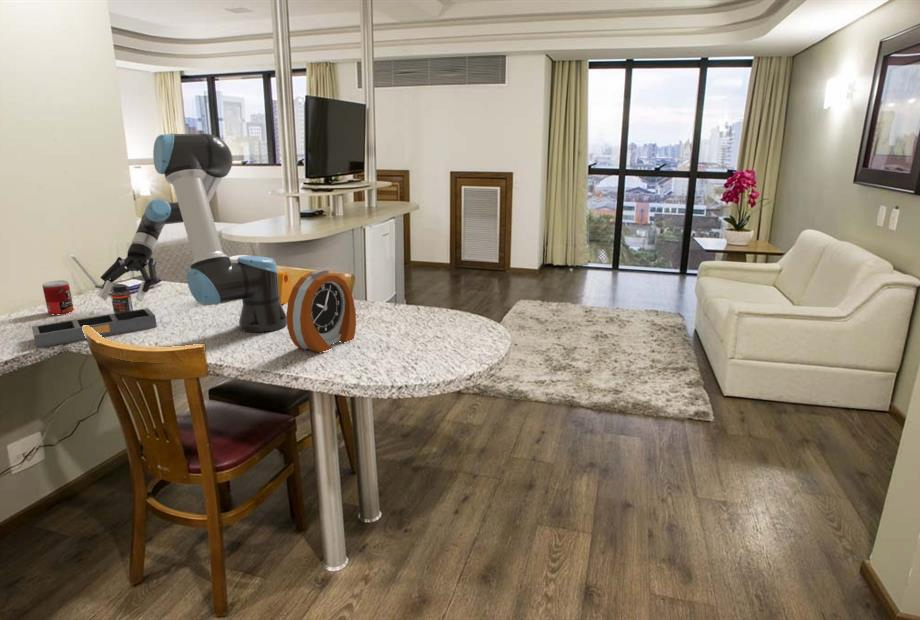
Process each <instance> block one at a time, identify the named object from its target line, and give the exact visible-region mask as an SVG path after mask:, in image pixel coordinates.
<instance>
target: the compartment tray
mask: <svg viewBox="0 0 920 620" xmlns="http://www.w3.org/2000/svg"><path fill="white" fill-rule="evenodd" d="M83 325H89V326H90V327H92V328H93V329H94V330H95V331H96V332H98V333H99V334H100V335H102V336H103V337H108V336H114V335H119V334H125V333H130V332H132V333H133V332H136V331H142V330H147V329H155V328H157V327H158V326H157V325H158V324H157V320H156V315H155V314H154V313H153V312H152V311H151V309H149V307H147V308H141V309H140V308H139V309H133V311H126V312H120V313H114V312H113V313H110V314H103V315H96V316H95V315H94V316H90V317H84V318H83V317H82V318H78V319H69V320H63V321H60V322H59V321H58V322H51V323H46V324H39V325H34V326H31V330H32V335H33V338H34V344H35V347H36V349H39V348H40V349H41V348H47V347H51V346H58V345H63V344H68V343H69V344H70V343H74V342H81V341H86V340H87V339H86V338H85V336H84V333H83V331H82V326H83Z"/></svg>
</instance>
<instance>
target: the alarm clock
mask: <svg viewBox="0 0 920 620" xmlns="http://www.w3.org/2000/svg"><path fill="white" fill-rule="evenodd" d="M292 287H293V289H292V292H291V294H290V297H289V300H288V303H287V309H286V317H287V325H286V327H287V328H286V329H287V331H288V334H289V338H290V340H291V341H292V343H293V344H294V345H295V346H296V347H297V348H298V349H300V348H302V349H301V350H304V349H305V350H309V351H311V350H312V351H311V352H313V351H316V352H315V353H318V352H323V351H326V350H329V349H331V348H333V347H332V345H331V344H333V343H335V342H338V341H341V342H347V341H349V342H351V341H350V340H352V339H353V340H354V338H355V336H356V328H357V313H356V312H357V311H356V306H355V302H354V298H353V294H352V291H351V288H350V286H349V285H348V283H347V281H346V280H345V279H344V278H343V277H341V276H340V275H338V274H336V273H329V270H328V269H317V270H315V271H309V272H308V273H306V274H304V275H303V276H301V277H300V278H299V279H298V280H297V282H296V283H295V284H294V286H292ZM353 340H352V341H353ZM338 343H339V342H338ZM347 343H348V342H347ZM330 345H331V346H330ZM333 345H334V344H333Z"/></svg>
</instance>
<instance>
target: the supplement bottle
mask: <svg viewBox="0 0 920 620" xmlns="http://www.w3.org/2000/svg"><path fill="white" fill-rule="evenodd" d="M112 290H113V291H112V292H110V297H111V303H112V310H113V314H114V313H120V312H126V311H133V310H134V308H133V303H132V296H131V292H130V290H128V289H127V285H126V284H115V285H114V284H113V286H112Z"/></svg>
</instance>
